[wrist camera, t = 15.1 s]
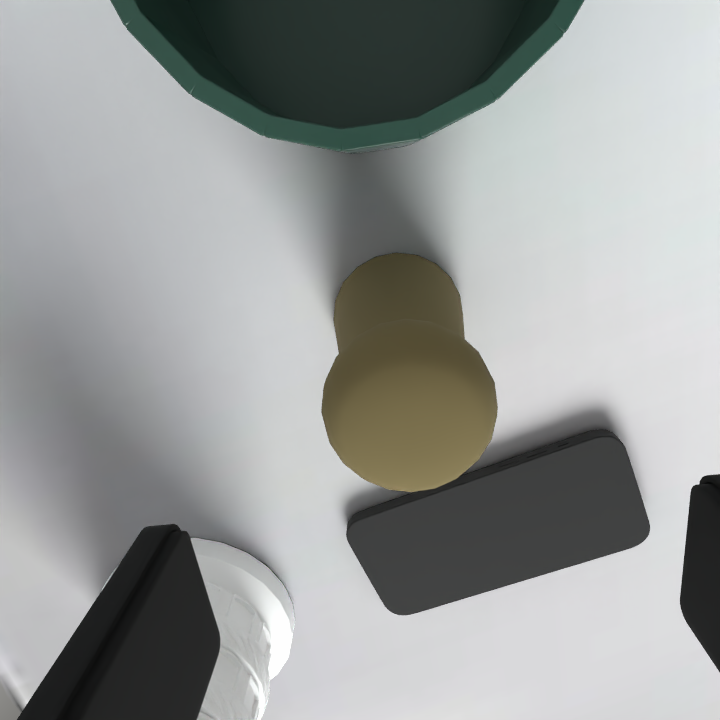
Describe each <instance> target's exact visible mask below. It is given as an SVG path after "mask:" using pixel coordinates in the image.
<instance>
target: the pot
mask: <svg viewBox="0 0 720 720" xmlns="http://www.w3.org/2000/svg"><path fill="white" fill-rule="evenodd" d="M110 1H111V3H112V4H113V6H114V8H115V10H116V12H117V13H118V15H119V17H120V19H121V21H122V22H123V24H124V25H125V26H126V28H127V30H128V31H129V32H130V33H131V34H132V35H133V36H134V37H135V38H136V39H137V40H138V41H139V42H140V43H141V44H142V46H143V47H144V48H145V49H146V50H147V51H148V52H149V53H150V54H151V55H152V56H153V57H154V58H155V59H156V60H157V61H158V62H159V63H160V64H161V65H162V66H163V67H164V68H165V69H166V71H167V72H168V73H169V74H170V75H171V76H172V77H173V78H174V79H175V80H176V81H177V82H178V83H179V84H180V85H181V86H182V87H183V88H184V89H185V90H186V91H187V92H188V93H189V94H191V95H192V96H193V97H194V98H196V99H198V100H200V101H201V102H203V103H205V104H207V105H208V106H210V107H212V108H214V109H216V110H217V111H219V112H221V113H223V114H224V115H226V116H228V117H230V118H232V119H233V120H235V121H237V122H239V123H240V124H242V125H244V126H246V127H247V128H249V129H251V130H253V131H255V132H256V133H258V134H260V135H262V136H265V137H268V138H273V139H278V140H283V141H288V142H293V143H298V144H303V145H309V146H314V147H319V148H324V149H329V150H335V151H340V152H345V153H350V154H352V153H353V154H357V153H363V152H370V151H377V150H383V149H390V148H397V147H404V146H408V145H411V144H413V143H415V142H417V141H419V140H421V139H424V138H426V137H427V136H429V135H431V134H433V133H435V132H437V131H439V130H441V129H443V128H445V127H447V126H449V125H451V124H453V123H455V122H457V121H458V120H460V119H462V118H464V117H466V116H468V115H470V114H472V113H474V112H476V111H478V110H480V109H482V108H484V107H486V106H488V105H489V104H491V103H493V102H495V100H497V99H499V98H500V97H501V96H502V95H503V94H504V93H505V92H506V91H507V90H508V89H509V88H510V87H511V86H512V85H513V84H514V83H515V82H516V81H517V80H518V79H519V78H520V77H521V76H522V75H523V74H525V73H526V72H527V71H528V70H529V69H530V68H531V67H532V66H533V65H534V64H535V63H536V62H537V61H538V60H539V59H540V58H541V57H542V56H543V55H544V54H545V53H546V52H547V51H548V50H549V49H550V48H551V47H552V46H553V45H554V44H555V43H556V42H557V41H558V40H559V39H560V38H561V37H562V36H563V34H564V33H565V32H566V31H567V29H568V28H569V26H570V24H571V23H572V21H573V19H574V17H575V16H576V14H577V12H578V11H579V9H580V7H581V6H582V4H583V2H584V0H110Z"/></svg>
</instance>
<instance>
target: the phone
mask: <svg viewBox="0 0 720 720" xmlns="http://www.w3.org/2000/svg"><path fill="white" fill-rule="evenodd" d="M649 531H650V524H649V520H648V517H647V514H646V511H645V507H644V504H643V501H642V498H641V495H640V491H639V488H638V485H637V482H636V479H635V476H634V473H633V469H632V466H631V463H630V460H629V457H628V454H627V451H626V448H625V446H624V445H623V443H622V442H621V441H620V440H619V438H618V437H617V436H616V435H615V434H614V433H612V432H610V431H608V430H593V431H589V432H586V433H583V434H580V435H577V436H574V437H571V438H569V439H566V440H563V441H560V442H557V443H554V444H551V445H549V446H546V447H543V448H540V449H537V450H534V451H531V452H529V453H526V454H523V455H520V456H517V457H514V458H511V459H509V460H506V461H503V462H500V463H497V464H494V465H491V466H489V467H486V468H483V469H480V470H477V471H474V472H471V473H469V474H466V475H463V476H460V477H458V478H457V479H455V480H453V481H451V482H449V483H446V484H444V485H442V486H440V487H437V488H435V489H429V490H422V491H417V492H414V493H411V494H409V495H406V496H403V497H400V498H397V499H394V500H391V501H389V502H386V503H383V504H380V505H377V506H374V507H371V508H369V509H366V510H363V511H361V512H358V513H356V514H355V515H353V516H352V517H351V518H350V519H349V521H348V524H347V533H346V535H347V540H348V542H349V544H350V546H351V548H352V550H353V552H354V553H355V555H356V557H357V559H358V560H359V562H360V564H361V566H362V567H363V569H364V571H365V573H366V574H367V576H368V578H369V580H370V581H371V583H372V585H373V587H374V588H375V590H376V592H377V593H378V595H379V597H380V599H381V600H382V602H383V604H384V605H385V607H386V608H387V609H388V610H389V611H391V612H392V613H394V614H397V615H410V614H414V613H418V612H421V611H425V610H428V609H431V608H434V607H438V606H441V605H444V604H448V603H451V602H454V601H458V600H461V599H464V598H468V597H471V596H474V595H478V594H481V593H484V592H487V591H491V590H494V589H497V588H501V587H504V586H507V585H511V584H514V583H517V582H521V581H524V580H527V579H530V578H534V577H537V576H540V575H544V574H547V573H550V572H554V571H557V570H560V569H564V568H567V567H570V566H573V565H577V564H580V563H583V562H587V561H590V560H593V559H597V558H600V557H603V556H607V555H610V554H613V553H617V552H620V551H623V550H626V549H629V548H632V547H635V546H637V545H639V544H640V543H642V542H643V541H644V540H645V539H646V538H647V537H648V535H649Z"/></svg>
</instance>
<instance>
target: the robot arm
mask: <svg viewBox="0 0 720 720" xmlns="http://www.w3.org/2000/svg"><path fill="white" fill-rule="evenodd" d="M680 605H681V610H682V613H683V616H684V618H685V620H686V622H687V624H688V625H689V627H690V628H691V630H692V631H693V633H694V634H695V636H696V637H697V639H698V640H699V642H700V643H701V645H702V646H703V648H704V649H705V651H706V652H707V654H708V655H709V657H710V658H711V660H712V661H713V663H714V664H715V666H716V667H717V669H718V670H719V672H720V474H718V475H707V476H704V477H702V479H701V480H700V484H699V485H695V486H693V487H692V489H691V495H690V505H689V515H688V525H687V535H686V545H685V555H684V565H683V575H682V585H681V595H680ZM219 651H220V633H219V629H218V626H217V623H216V620H215V616H214V613H213V610H212V607H211V603H210V600H209V597H208V594H207V591H206V587H205V584H204V581H203V578H202V574H201V571H200V568H199V565H198V562H197V558H196V555H195V552H194V549H193V545H192V542H191V539H190V536H189V534H188V533H187V531H181V530H180V528H179V527H178V525H176V524H169V525H158V526H148V527H145V528H144V529H143V530H142V531H141V532H140V534H139V535H138V537H137V538H136V540H135V541H134V543H133V544H132V546H131V547H130V549H129V550H128V552H127V553H126V555H125V556H124V558H123V560H122V561H121V563H120V564H119V566H118V567H117V569H116V570H115V572H114V573H113V575H112V576H111V578H110V579H109V581H108V582H107V584H106V585H105V587H104V588H103V590H102V591H101V593H100V594H99V596H98V597H97V599H96V600H95V602H94V604H93V605H92V607H91V608H90V610H89V611H88V613H87V614H86V616H85V617H84V619H83V620H82V622H81V623H80V625H79V626H78V628H77V629H76V631H75V632H74V634H73V635H72V637H71V638H70V640H69V641H68V643H67V644H66V646H65V647H64V649H63V651H62V652H61V654H60V655H59V657H58V658H57V660H56V661H55V663H54V664H53V666H52V667H51V669H50V670H49V672H48V673H47V675H46V676H45V678H44V679H43V681H42V682H41V684H40V685H39V687H38V688H37V690H36V691H35V693H34V694H33V696H32V698H31V699H30V701H29V702H28V704H27V705H26V707H25V708H24V710H23V711H22V713H21V714H20V716H19V717H18V719H17V720H197V718H198V715H199V712H200V709H201V706H202V703H203V700H204V697H205V694H206V691H207V688H208V685H209V682H210V679H211V676H212V673H213V670H214V667H215V664H216V661H217V658H218V655H219Z"/></svg>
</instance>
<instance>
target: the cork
mask: <svg viewBox="0 0 720 720" xmlns="http://www.w3.org/2000/svg"><path fill="white" fill-rule="evenodd" d="M334 326H335V332H336V338H337V344H338V350H339V355H338V356H337V357H336V359H335V361H334V363H333V365H332V367H331V370H330V372H329V374H328V376H327V378H326V381H325V384H324V389H323V400H322V416H323V420H324V424H325V427H326V431H327V435H328V438H329V442H330V444H331V446H332V447H333V449H334V450H335V452H336V453H337V455H338V456H339V458H340V459H341V460H342V462H343V463H344V464H345V465H346V466H347V467H349V468H350V469H351V470H353V471H354V472H355V473H356V474H358V475H359V476H360V477H361V478H363V479H365V480H366V481H368V482H371V483H373V484H376V485H379V486H381V487H384V488H386V489H389V490H397V491H406V492H416V491H422V490H429V489H435V488H437V487H440V486H442V485H444V484H446V483H449V482H451V481H453V480H455V479H457V478H458V477H459V476H460V475H462V474H463V473H464V472H465V471H466V470H468V469H469V468H470V467H471V466H472V465H473V464H475V463H476V462H477V461H478V460H479V458H480V457H481V455H482V454H483V452H484V450H485V449H486V447H487V446H488V444H489V443H490V441H491V439H492V435H493V431H494V426H495V422H496V418H497V408H498V406H497V399H496V391H495V383H494V380H493V378H492V376H491V375H490V373H489V371H488V369H487V367H486V365H485V363H484V361H483V359H482V357H481V356H480V354H479V352H478V351H477V350H476V349H475V348H474V347H472V346H471V345H470V344H469V343H468V342H467V341H466V340H465V337H464V324H463V313H462V306H461V299H460V295H459V293H458V291H457V289H456V287H455V285H454V283H453V281H452V279H451V278H450V277H449V276H448V275H447V274H446V273H445V272H444V271H443V270H442V269H441V268H440V267H439V266H438V265H437V264H435V263H433V262H431V261H429V260H427V259H425V258H422V257H420V256H418V255H412V254H404V253H392V254H387V255H382V256H377V257H374V258H373V259H371V260H369V261H367V262H366V263H364V264H362V265H360V266H359V267H357V268H356V269H355V270H354V271H353V272H352V274H351V275H350V276H349V277H348V278H347V279H346V280H345V281H344V282H343V284H342V287H341V289H340V291H339V294H338V296H337V298H336V300H335V310H334Z"/></svg>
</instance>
